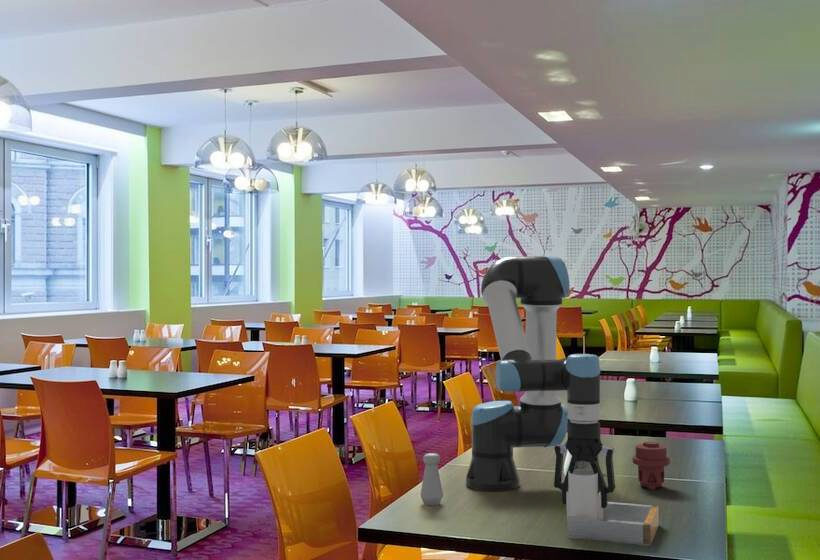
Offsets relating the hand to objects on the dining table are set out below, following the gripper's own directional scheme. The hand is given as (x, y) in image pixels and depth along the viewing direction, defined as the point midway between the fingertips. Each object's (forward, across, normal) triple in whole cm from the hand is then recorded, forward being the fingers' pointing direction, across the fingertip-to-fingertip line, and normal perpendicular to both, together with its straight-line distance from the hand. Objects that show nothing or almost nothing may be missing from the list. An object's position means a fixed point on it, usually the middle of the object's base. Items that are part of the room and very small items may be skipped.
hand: (584, 519), depth 201 cm
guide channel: (+2, +7, 0) cm, 7 cm away
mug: (+1, 0, 0) cm, 1 cm away
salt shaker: (+2, -41, +8) cm, 42 cm away
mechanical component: (+2, +10, +47) cm, 48 cm away
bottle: (+2, -8, +46) cm, 46 cm away
